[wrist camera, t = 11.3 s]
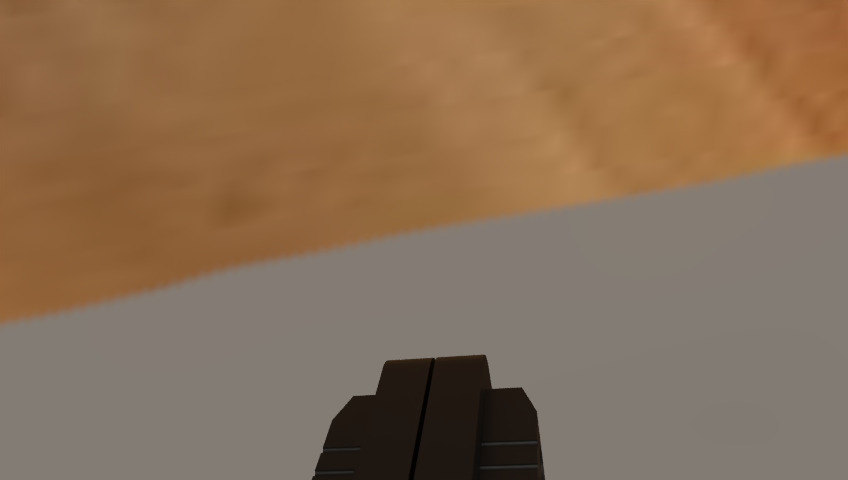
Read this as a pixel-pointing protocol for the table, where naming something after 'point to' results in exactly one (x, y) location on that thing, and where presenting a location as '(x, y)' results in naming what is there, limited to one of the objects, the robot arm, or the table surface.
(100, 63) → the table surface
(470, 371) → the robot arm
